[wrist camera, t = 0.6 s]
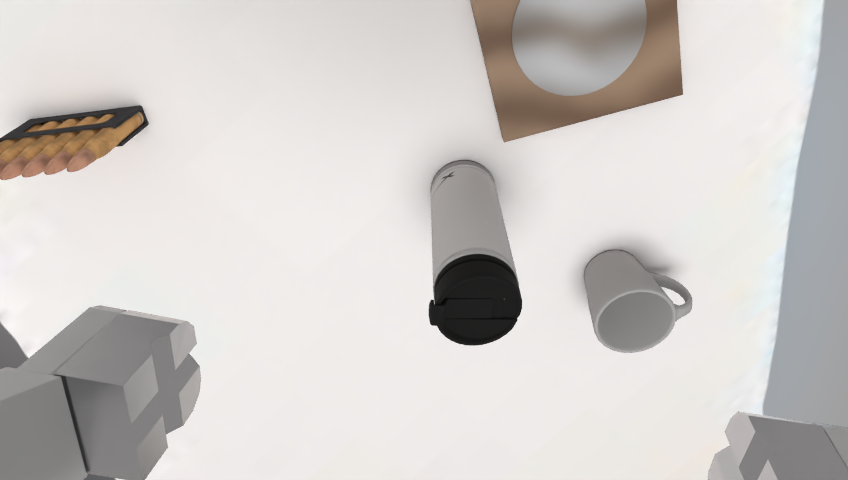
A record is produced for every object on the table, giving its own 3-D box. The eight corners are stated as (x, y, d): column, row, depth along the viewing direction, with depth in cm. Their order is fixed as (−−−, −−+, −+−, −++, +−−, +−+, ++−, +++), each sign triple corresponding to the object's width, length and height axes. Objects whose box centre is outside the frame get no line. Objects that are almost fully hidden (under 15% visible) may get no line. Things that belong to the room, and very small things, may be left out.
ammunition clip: (142, 105, 54) (75, 157, 43) (149, 124, 54) (85, 180, 44) (29, 119, 54) (-64, 174, 44) (38, 138, 55) (-51, 196, 45)
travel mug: (428, 158, 56) (431, 277, 39) (498, 160, 56) (531, 281, 39) (425, 216, 59) (427, 350, 42) (491, 218, 59) (519, 353, 42)
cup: (575, 244, 61) (596, 293, 54) (674, 235, 61) (708, 284, 53) (573, 303, 65) (592, 356, 58) (666, 296, 64) (697, 348, 57)
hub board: (460, -45, 47) (460, -43, 46) (664, -109, 45) (670, -109, 44) (502, 138, 55) (504, 143, 54) (678, 91, 53) (684, 95, 52)
